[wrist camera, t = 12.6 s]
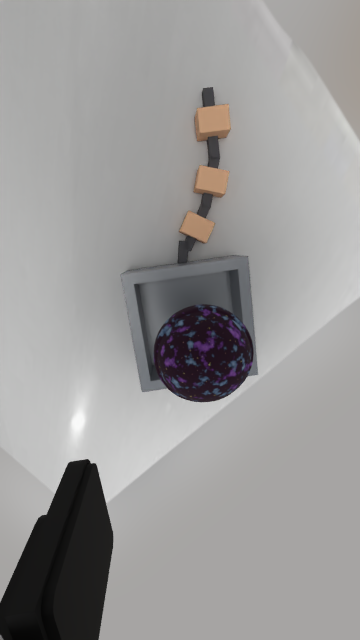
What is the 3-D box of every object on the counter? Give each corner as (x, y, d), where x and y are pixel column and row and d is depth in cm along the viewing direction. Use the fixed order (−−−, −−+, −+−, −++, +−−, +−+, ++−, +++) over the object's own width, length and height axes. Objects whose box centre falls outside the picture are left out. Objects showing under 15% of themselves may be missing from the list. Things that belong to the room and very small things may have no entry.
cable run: (198, 89, 29) (201, 76, 27) (237, 97, 29) (243, 84, 27) (174, 262, 32) (175, 263, 30) (210, 267, 33) (213, 268, 30)
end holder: (126, 270, 32) (120, 274, 27) (235, 255, 32) (247, 256, 28) (144, 372, 35) (141, 392, 30) (244, 357, 35) (258, 374, 30)
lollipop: (221, 283, 32) (272, 315, 17) (219, 346, 34) (263, 423, 19) (155, 283, 32) (151, 316, 17) (156, 347, 33) (152, 426, 19)
